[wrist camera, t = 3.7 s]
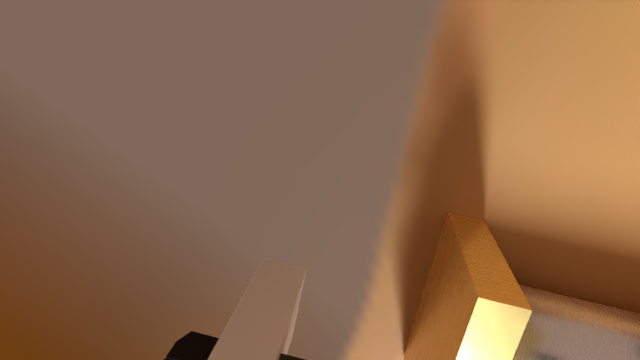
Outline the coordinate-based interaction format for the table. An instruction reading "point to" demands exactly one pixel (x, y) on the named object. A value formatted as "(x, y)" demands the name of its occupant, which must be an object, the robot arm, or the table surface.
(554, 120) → the table surface
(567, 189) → the table surface
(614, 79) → the table surface
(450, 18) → the table surface
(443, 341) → the lynch pin
